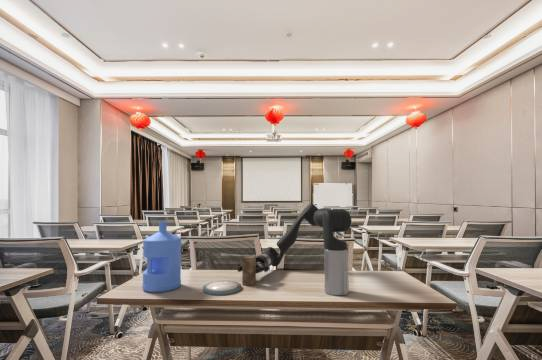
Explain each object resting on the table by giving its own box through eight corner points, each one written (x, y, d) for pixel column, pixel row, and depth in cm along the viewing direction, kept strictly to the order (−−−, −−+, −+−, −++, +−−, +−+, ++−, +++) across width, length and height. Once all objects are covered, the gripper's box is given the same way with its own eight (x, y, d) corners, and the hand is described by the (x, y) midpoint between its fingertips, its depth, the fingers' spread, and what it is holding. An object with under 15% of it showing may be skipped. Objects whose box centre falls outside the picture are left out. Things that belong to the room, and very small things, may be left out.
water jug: (164, 280, 139) (165, 220, 141) (188, 285, 131) (189, 221, 133) (134, 289, 126) (135, 222, 128) (158, 295, 118) (159, 224, 120)
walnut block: (255, 283, 134) (255, 256, 134) (251, 286, 129) (251, 258, 130) (246, 282, 135) (246, 255, 136) (242, 285, 131) (242, 257, 132)
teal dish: (247, 285, 130) (247, 282, 130) (230, 297, 115) (230, 293, 115) (215, 282, 136) (215, 279, 136) (194, 292, 121) (194, 289, 121)
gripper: (247, 254, 149) (232, 260, 134) (274, 255, 144) (262, 262, 129) (247, 269, 148) (232, 277, 133) (274, 271, 143) (262, 280, 128)
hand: (247, 270), depth 131 cm, fingers open, 8 cm apart
